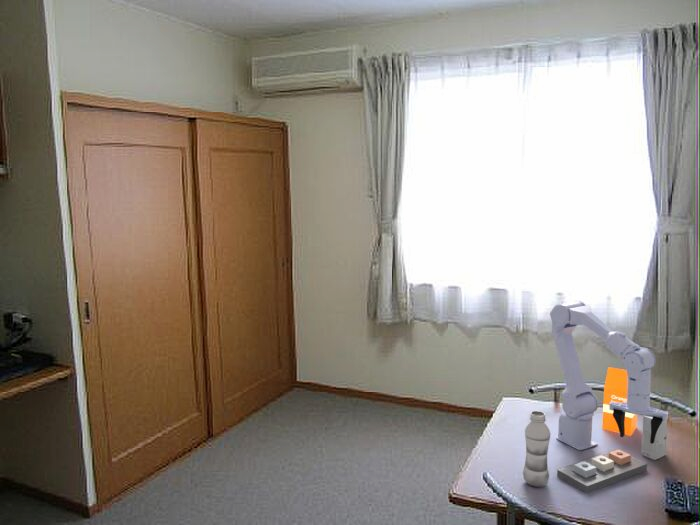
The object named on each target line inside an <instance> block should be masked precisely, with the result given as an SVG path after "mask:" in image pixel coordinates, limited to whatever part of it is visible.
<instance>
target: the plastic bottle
mask: <svg viewBox="0 0 700 525" xmlns="http://www.w3.org/2000/svg"><path fill="white" fill-rule="evenodd" d="M529 420H530V422H529V423H527V425H526V427H525V429H524V438H525V439H524V440H525V453H526V454H525V461H524V466H523V470H522V476H523V480H524V481H525V483H527V484H528V485H530V486H532V487H538V488H540V487H545V486H546V485H547V484H548V482H549V479H550V474H549V468H548V452H549V444H550V440H551V439H550V438H551V431H550V428H549V427H548V426H547V424H546V420H547V419H546V413H545V412H543V411H540V410H539V411H538V410H533V411H531V412H530V416H529Z"/></svg>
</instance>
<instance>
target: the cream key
mask: <svg viewBox="0 0 700 525" xmlns="http://www.w3.org/2000/svg"><path fill="white" fill-rule="evenodd" d="M600 455H601V454H600ZM597 456H598V455H597ZM594 457H595V456H594ZM591 458H592V457H591ZM592 465H593V466H595V467H596V468H598V469H600V470H602V471H606V470H609V469H612V468H614V461H613V460H611V459H608V458H606V457H604V456H602V455H601V456H598V457H595V458H592Z"/></svg>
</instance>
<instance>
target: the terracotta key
mask: <svg viewBox="0 0 700 525" xmlns="http://www.w3.org/2000/svg"><path fill="white" fill-rule="evenodd" d="M614 450H615V449H614ZM611 451H612V452H610V451H608V452H609V459H611V460H613V461H614V462H615V463H617V464H619V465H623V464H626V463H628V462H630V460H631V456H632V455H631V454H629V453H627V452H625V451H623V450H621V449H617V450H615V451H613V450H611Z"/></svg>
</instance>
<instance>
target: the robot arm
mask: <svg viewBox="0 0 700 525" xmlns="http://www.w3.org/2000/svg"><path fill="white" fill-rule="evenodd" d="M549 316H550V320H551V331H552V332H551V333H552V338H553V340H554V344H555V347H556V348H555V349H556V351H557V355H558V358H559V364H560V367H561V371H562V376H563V379H564V383H565V387H564V390H563V391H562V393H561V397H562V398H561V399H562V402H561V403H562V404H561V406H562V412H561V414H560V415H559V418H558V432H557V433H558V435H557V436H556V440H558V441H560V442H562V443H564V444H566V445H568V446H570V447H572V448H574V449H576V450H578V451H583V450H586V449H590V448H593V447H596V446H599V444H598V442H596V441H593V440H592V438H593V436H592V434H593V433H592V432H593V416H594V415H595V413H596V412H597V411H598V409H599V401H598V398H597V396H596V395H595V394H594V391H593V388H592V387H591V386H589V384H587V383H586V382H585V379H584V376H583V372H582V367H581V364H580V361H579V356H578V352H577V348H576V344H575V342H574V338H573V335H572V334H573V332H574V331H575V328H576V327H577V326H584V327H585V328H586V329H588V330H590V331H591V332H592V333H594V334H595V335H597V336H598V337H600V339H603V340H604V343H605V344H604V345H605V347H606V348H607V349H609V351H611V352H612V353H614V354H615V356H617V357H618V358H620V359H621V360H622V363H623V364H622V365H623V366H624V368H625V370H627V375H628V379H627V403H619V402H610V404H609V410H612V411H613V417H614V419H615V421H616V423H617V425H618V428H619V432H620V433H619V436H620V438H624V436H625V435H626V434H625V412H627V413H631V414H635V415H637V416H649V417H653V418H652V420H651V439H650V443H651V444H653V443H654V441H655V436H656V433H657V430H658V428H659V426H660V425H661V423H662V421H663V420H665V421H667V422H668V419H669V411H667V410H666V411H665V410H662V409H658V408H655V407H652V406H650V405H651V382H652V381H651V379H652V368H654V366H655V365H656V363H657V362H656V361H657V360H656V356H655V354H654V352H653V351H652V350H651V349H650V348H647V347H641V346H640V345H639V344H637V343H636V342H634V341H633V340H631V339H630V338H628V336H627V334H626V332H624V331H623V332H622V331H618V330H617V331H613V330H612V329H611V328H610V327H609V326H607V325H606V324H605V323H604V321H602V320H601V319H600V318H599V317H598V316H596V314H594V313H593V312H592V310H591V307H590V306H588V305H586V303H584V302H583V301H580V300H575V301H572V302H567V303H559V304H555V305H554V306H553V308H552V309H551V311H550V312H549Z"/></svg>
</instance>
